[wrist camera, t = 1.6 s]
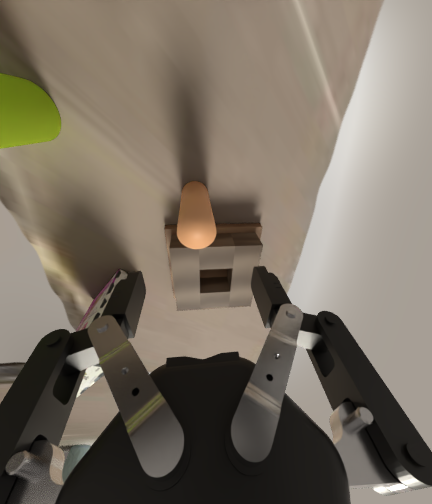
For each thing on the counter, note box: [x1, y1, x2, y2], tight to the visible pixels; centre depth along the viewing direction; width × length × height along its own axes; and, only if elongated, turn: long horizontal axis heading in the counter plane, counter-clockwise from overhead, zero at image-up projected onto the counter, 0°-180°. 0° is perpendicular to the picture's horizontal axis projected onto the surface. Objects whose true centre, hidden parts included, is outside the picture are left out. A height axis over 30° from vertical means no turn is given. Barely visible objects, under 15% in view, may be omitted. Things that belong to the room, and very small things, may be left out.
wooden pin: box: [177, 181, 216, 249], centre depth 24 cm, size 4×4×12 cm
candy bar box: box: [76, 269, 128, 397], centre depth 32 cm, size 11×5×16 cm, turn 137°
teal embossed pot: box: [62, 445, 90, 483], centre depth 89 cm, size 10×10×12 cm
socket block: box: [165, 223, 263, 311], centre depth 35 cm, size 16×16×6 cm
